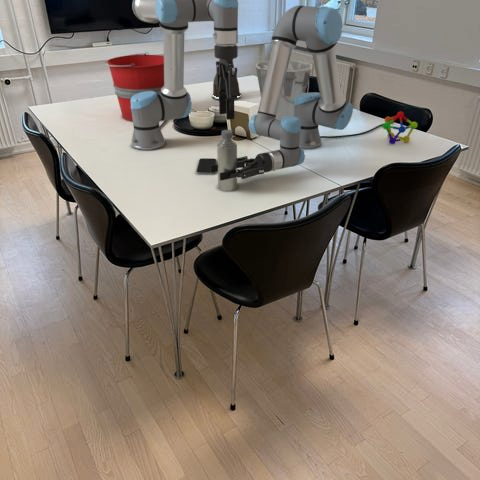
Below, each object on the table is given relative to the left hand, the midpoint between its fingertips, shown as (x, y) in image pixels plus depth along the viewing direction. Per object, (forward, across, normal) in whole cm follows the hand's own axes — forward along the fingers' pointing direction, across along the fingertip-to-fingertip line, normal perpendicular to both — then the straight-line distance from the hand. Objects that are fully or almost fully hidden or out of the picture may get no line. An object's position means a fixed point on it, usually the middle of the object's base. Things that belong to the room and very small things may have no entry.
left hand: (226, 116), depth 154 cm
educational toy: (+27, -16, +92) cm, 97 cm away
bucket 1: (+27, -105, -10) cm, 109 cm away
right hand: (+20, +1, -5) cm, 21 cm away
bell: (+27, -125, +47) cm, 136 cm away
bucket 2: (+27, -72, +59) cm, 97 cm away
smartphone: (+27, -22, -1) cm, 35 cm away
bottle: (+27, 0, 0) cm, 27 cm away
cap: (+6, 0, 0) cm, 6 cm away
